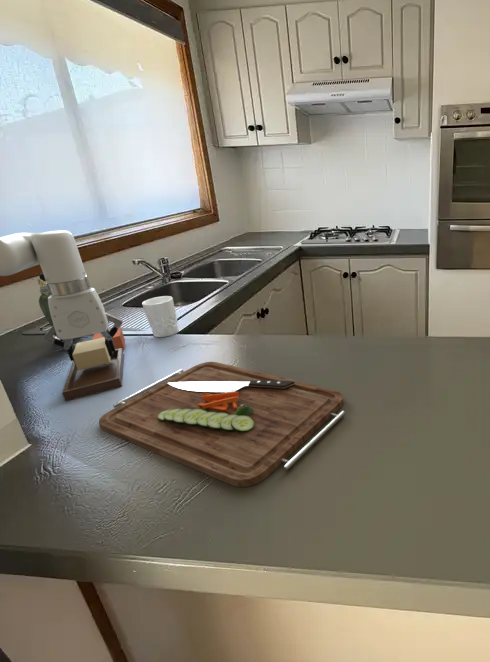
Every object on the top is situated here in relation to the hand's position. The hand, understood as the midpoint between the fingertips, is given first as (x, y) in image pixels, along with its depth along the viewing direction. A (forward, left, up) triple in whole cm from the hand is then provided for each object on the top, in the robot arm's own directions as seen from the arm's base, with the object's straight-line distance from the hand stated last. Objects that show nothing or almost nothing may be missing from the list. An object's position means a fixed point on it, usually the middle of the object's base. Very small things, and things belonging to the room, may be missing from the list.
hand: (94, 357), depth 102 cm
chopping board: (+23, -39, -3) cm, 45 cm away
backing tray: (0, -4, -3) cm, 5 cm away
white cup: (+16, +16, -3) cm, 23 cm away
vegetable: (-9, +21, -3) cm, 23 cm away
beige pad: (0, 0, -1) cm, 1 cm away
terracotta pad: (+2, +14, -3) cm, 14 cm away
